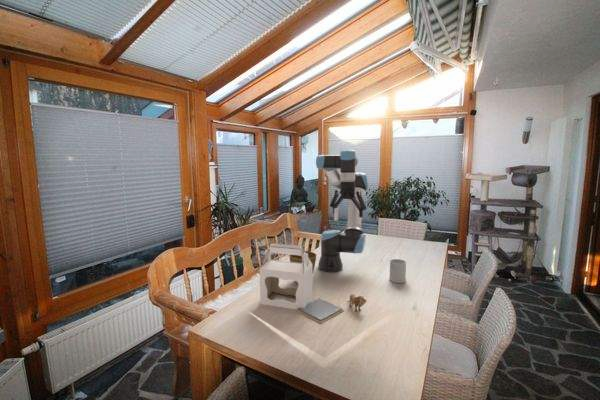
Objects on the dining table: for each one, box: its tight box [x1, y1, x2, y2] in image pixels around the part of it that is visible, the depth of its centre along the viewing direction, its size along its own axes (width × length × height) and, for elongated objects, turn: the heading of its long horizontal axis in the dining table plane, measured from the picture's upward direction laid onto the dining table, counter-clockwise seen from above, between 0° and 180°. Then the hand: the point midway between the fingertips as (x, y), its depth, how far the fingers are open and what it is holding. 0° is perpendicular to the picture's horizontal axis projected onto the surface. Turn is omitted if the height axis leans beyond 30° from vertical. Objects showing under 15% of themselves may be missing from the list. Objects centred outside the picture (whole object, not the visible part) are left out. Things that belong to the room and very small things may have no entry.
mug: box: [389, 258, 407, 284], centre depth 163 cm, size 12×8×11 cm
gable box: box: [259, 242, 314, 310], centre depth 136 cm, size 22×13×28 cm, turn 71°
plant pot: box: [288, 250, 317, 284], centre depth 159 cm, size 15×15×16 cm
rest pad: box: [295, 298, 345, 324], centre depth 127 cm, size 15×15×1 cm
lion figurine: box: [347, 293, 367, 313], centre depth 129 cm, size 12×4×7 cm, turn 27°
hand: (347, 221), depth 149 cm, fingers open, 13 cm apart
